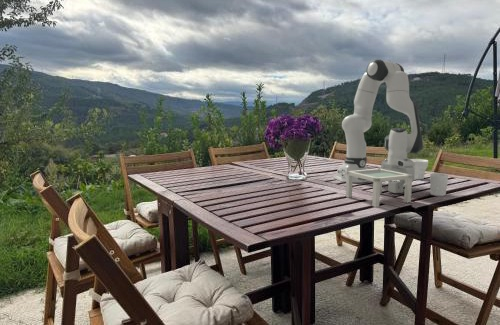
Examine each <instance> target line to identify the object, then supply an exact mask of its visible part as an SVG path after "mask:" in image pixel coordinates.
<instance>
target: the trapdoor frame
mask: <svg viewBox="0 0 500 325" xmlns="http://www.w3.org/2000/svg"><path fill="white" fill-rule="evenodd" d="M375 171H379V172H386V173H391V174H396V175H397V176H387V177H373V176H369V175H365V174H361V173H364V172H375ZM352 176H354V177H358V178H362V179H366V180H368V181H370V182H372V205H371V206H372V207H375V208H378V207H380V198H381V197H380V196H381V195H382V192H383V191H382V190H383V182H388V181H400V180H403V179H405V184H404V195H403V196H404V197H403V198H404V199H403V203H406V202H407V203H408V202H410V203H411V202H412V186H413V182H412V175H410V174H405V173H400V172H395V171H390V170H385V169H381V167H380V168H371V169H369V168H367V170H356V171H347V175H346V182H345V183H346V184H345V197H346V198H347V199H348V198H349V199H350V198H352V197H353V182H352ZM408 204H409V203H408Z"/></svg>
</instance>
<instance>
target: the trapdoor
mask: <svg viewBox="0 0 500 325" xmlns="http://www.w3.org/2000/svg"><path fill="white" fill-rule="evenodd" d="M361 174H365V175H369V176H373V177H387V176H397V175H396V174H391V173H386V172H379V171H375V172H364V173H361ZM358 179H359V180H363V181H365V180H366V179H362V178H358Z"/></svg>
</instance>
